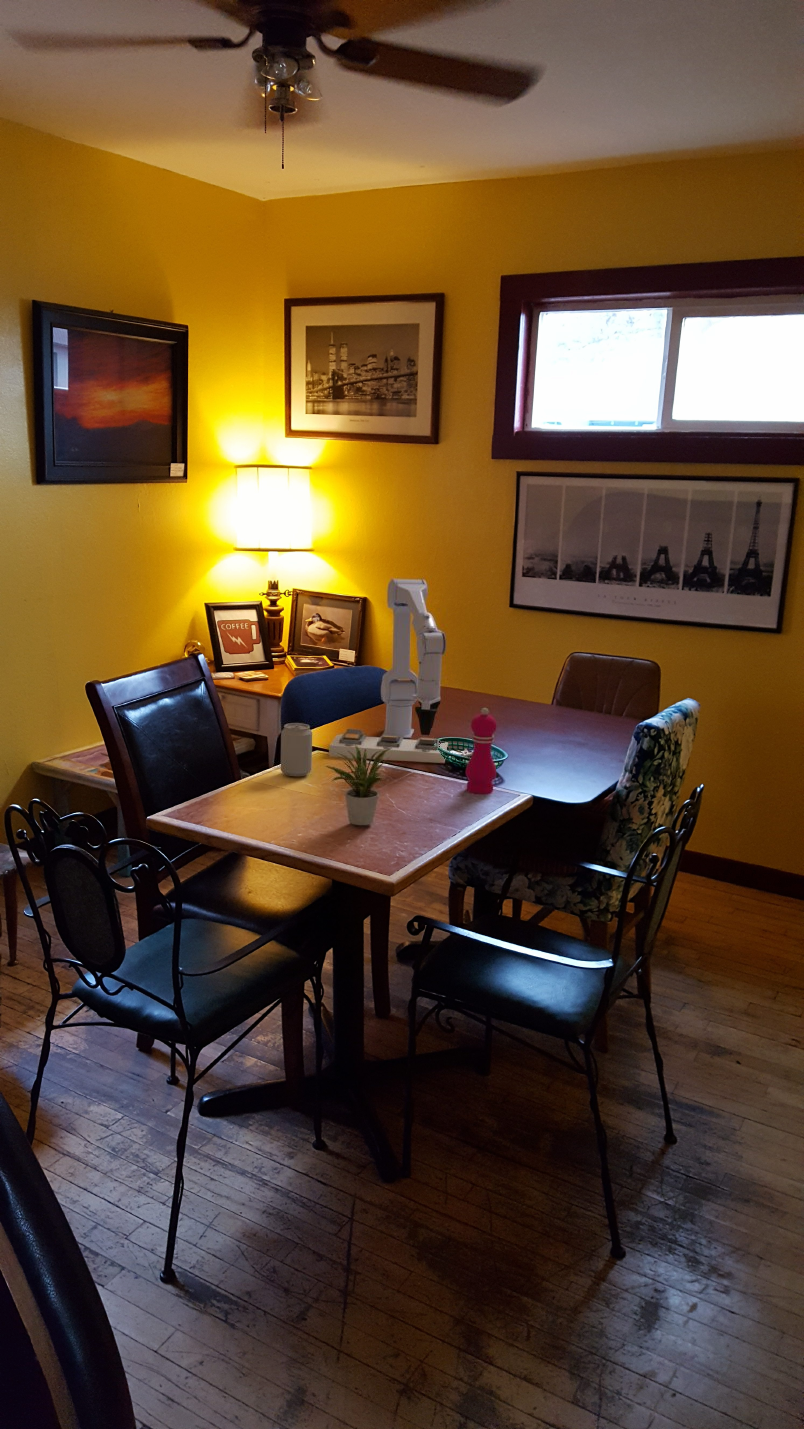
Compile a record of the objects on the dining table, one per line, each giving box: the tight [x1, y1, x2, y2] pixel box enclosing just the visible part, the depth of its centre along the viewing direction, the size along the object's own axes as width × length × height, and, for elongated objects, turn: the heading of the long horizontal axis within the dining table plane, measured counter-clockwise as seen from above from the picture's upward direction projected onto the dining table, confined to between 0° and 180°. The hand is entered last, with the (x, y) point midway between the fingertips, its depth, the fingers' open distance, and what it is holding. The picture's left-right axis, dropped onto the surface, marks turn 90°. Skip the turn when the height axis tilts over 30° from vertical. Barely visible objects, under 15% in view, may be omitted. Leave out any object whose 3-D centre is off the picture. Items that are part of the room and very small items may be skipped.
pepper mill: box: [465, 707, 498, 795], centre depth 239 cm, size 7×7×20 cm
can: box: [280, 722, 313, 777], centre depth 248 cm, size 8×8×12 cm
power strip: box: [328, 732, 449, 764], centre depth 268 cm, size 12×42×4 cm, turn 83°
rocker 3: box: [419, 737, 437, 744], centre depth 268 cm, size 6×4×1 cm, turn 173°
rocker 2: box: [380, 735, 399, 742], centre depth 269 cm, size 6×4×1 cm, turn 173°
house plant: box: [325, 745, 392, 826], centre depth 215 cm, size 14×14×16 cm
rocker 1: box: [344, 728, 363, 741], centre depth 270 cm, size 6×4×1 cm, turn 173°
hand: (426, 731), depth 262 cm, fingers open, 7 cm apart
